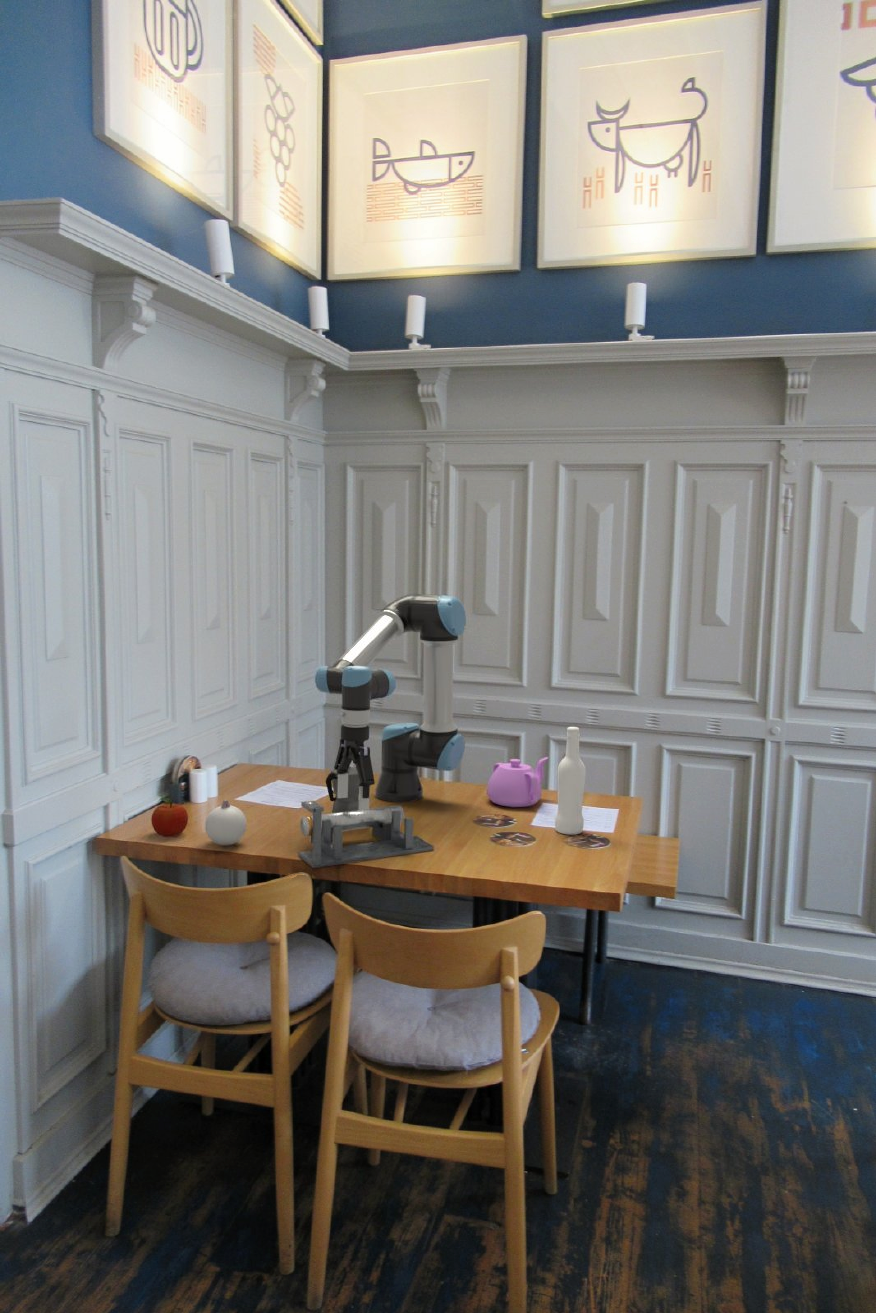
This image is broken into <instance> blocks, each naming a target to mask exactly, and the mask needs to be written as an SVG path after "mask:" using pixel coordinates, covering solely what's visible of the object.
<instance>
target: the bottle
mask: <svg viewBox="0 0 876 1313" xmlns="http://www.w3.org/2000/svg"><path fill="white" fill-rule="evenodd" d="M566 731H567V732H566V747H565V756H564V757H563V758H562V759H561V761H560V762H559V764H558V768H557V772H556V773H557V813H556V815H555V816H554V829H555V830H556V832H557V833H559V834H562V835H563V834H564V835H569V836H572V835H578V834H581V833H582V832H583V829H584V823H585V819H584V817H583V803H584V793H585V792H584V791H585V784H586V783H585V782H586V777H587V775H586V774H587V771H586V766H585V763H584V762H583V760H582V759H581V758H580V737H581V733H580V732H581V730H580V728H579V727H577V726H568V727H567V729H566Z"/></svg>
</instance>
